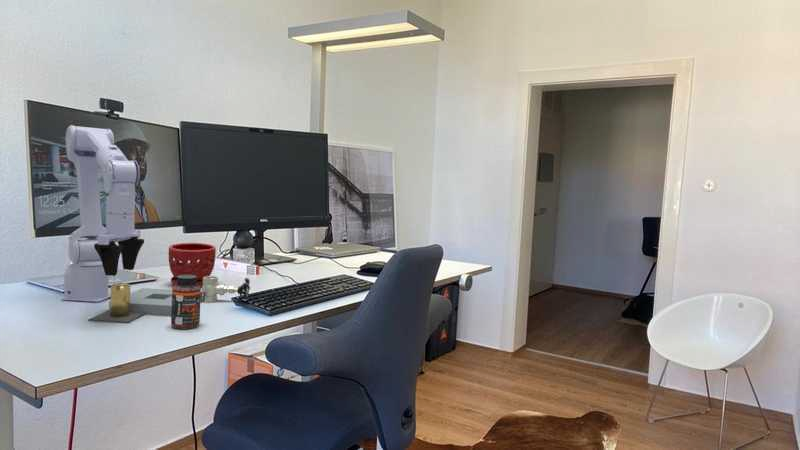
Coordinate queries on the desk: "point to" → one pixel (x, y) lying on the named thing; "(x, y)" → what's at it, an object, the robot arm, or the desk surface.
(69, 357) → the desk surface
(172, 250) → the plant pot
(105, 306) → the desk surface
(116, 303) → the brass cover
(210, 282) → the valve
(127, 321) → the rubber mat
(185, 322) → the supplement bottle
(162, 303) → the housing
